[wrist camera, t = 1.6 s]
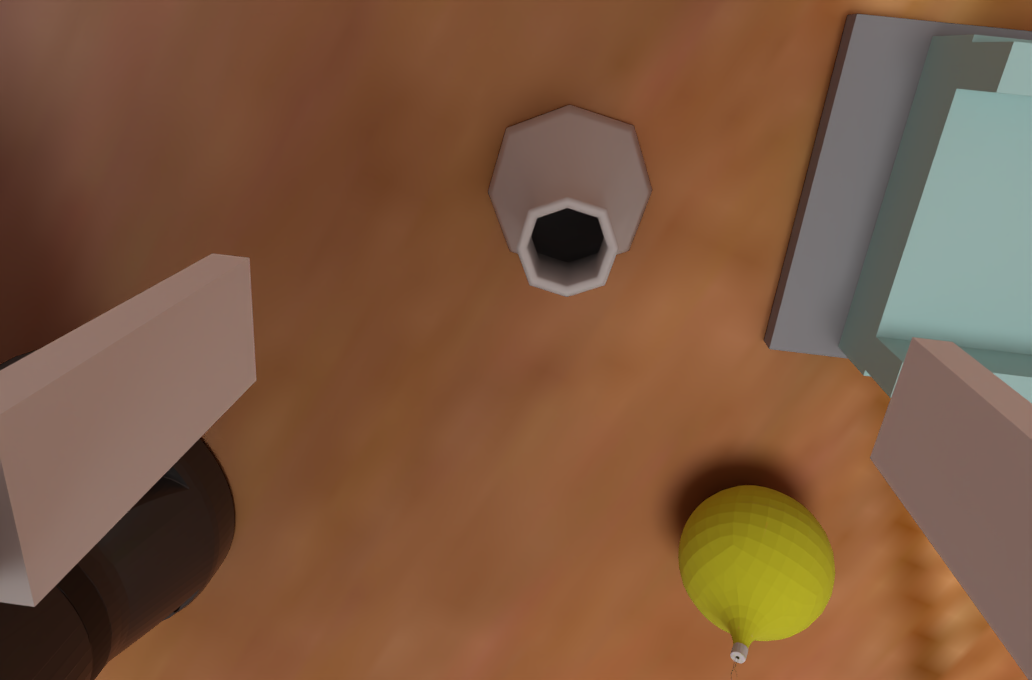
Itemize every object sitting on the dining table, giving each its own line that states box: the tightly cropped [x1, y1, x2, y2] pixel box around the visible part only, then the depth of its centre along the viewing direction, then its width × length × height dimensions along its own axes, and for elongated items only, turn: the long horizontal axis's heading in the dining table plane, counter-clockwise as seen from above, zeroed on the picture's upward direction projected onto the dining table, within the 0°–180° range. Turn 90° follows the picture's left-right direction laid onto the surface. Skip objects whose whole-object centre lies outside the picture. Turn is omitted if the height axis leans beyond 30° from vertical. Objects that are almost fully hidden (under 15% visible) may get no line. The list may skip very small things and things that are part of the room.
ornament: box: [678, 485, 835, 680], centre depth 32 cm, size 7×7×10 cm
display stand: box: [764, 14, 1032, 403], centre depth 27 cm, size 14×14×6 cm
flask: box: [488, 105, 652, 297], centre depth 26 cm, size 7×7×10 cm
